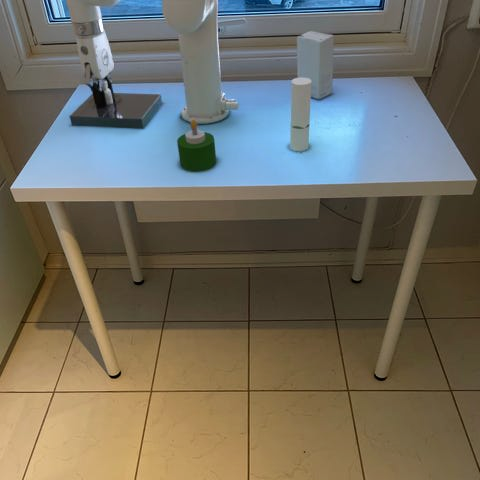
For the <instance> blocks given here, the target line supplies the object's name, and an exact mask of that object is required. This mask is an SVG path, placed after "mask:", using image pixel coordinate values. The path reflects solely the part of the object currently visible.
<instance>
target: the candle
mask: <svg viewBox="0 0 480 480" xmlns="http://www.w3.org/2000/svg"><path fill="white" fill-rule="evenodd" d="M190 129H191V130H188V131H186V133H183V134H181V135H180V136H179V137H178V138H177V139H176V140H177V141H176V143H177V151H178V159H179V164H180V167H181V168H182V169H183V170H185V171H188V172H204V171H207V170H210V169H212V168H214V166H215V165H216V163H217V155H216V144H215V137H214V135H213V134H212V133H209V132H207V131H203V130H202V129H198V123H197V122H196V121H195V120H192V121H191V122H190Z"/></svg>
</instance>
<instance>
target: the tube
mask: <svg viewBox="0 0 480 480" xmlns="http://www.w3.org/2000/svg"><path fill="white" fill-rule="evenodd" d="M290 83H291V85H290V87H291V90H290V130H289V131H290V135H289V136H290V137H289V138H290V139H289V148H290V150H292V151H294V152H304V151H307V150H308V149H309V145H310V141H309V140H310V120H311V117H310V116H311V101H312V97H311V79H309V78H304V77H300V78H297V77H295V78H293V79H292V80H291V82H290Z"/></svg>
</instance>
